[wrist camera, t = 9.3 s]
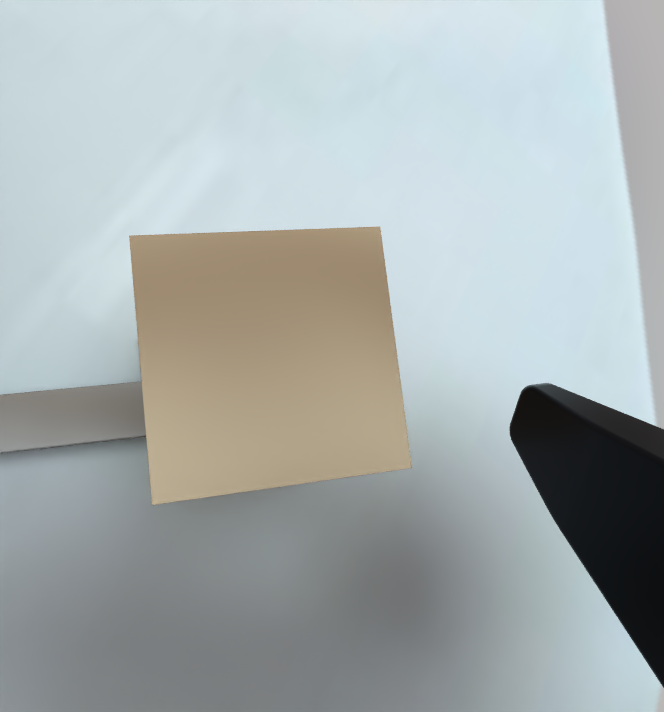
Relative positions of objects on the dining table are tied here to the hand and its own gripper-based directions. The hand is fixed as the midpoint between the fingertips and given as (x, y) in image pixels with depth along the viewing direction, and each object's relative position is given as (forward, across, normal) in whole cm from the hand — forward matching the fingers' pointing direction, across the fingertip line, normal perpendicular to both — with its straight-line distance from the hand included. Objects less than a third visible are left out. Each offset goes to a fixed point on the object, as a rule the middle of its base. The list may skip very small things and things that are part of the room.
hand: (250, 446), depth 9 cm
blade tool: (+11, +4, +8) cm, 14 cm away
